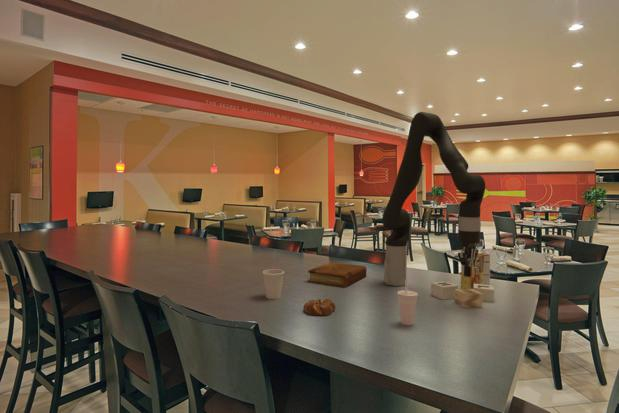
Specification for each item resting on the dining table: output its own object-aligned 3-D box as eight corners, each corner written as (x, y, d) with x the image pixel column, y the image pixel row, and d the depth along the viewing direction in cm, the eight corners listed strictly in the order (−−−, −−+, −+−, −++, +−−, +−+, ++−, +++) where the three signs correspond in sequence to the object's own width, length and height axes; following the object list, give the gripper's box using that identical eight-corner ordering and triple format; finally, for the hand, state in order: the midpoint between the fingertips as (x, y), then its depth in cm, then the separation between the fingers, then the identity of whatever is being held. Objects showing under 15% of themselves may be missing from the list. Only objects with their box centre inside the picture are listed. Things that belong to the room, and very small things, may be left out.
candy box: (474, 287, 164) (476, 252, 164) (483, 289, 161) (484, 253, 160) (459, 289, 161) (461, 253, 160) (468, 292, 157) (469, 255, 156)
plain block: (463, 308, 137) (464, 294, 137) (454, 302, 144) (454, 289, 143) (482, 307, 137) (482, 294, 137) (472, 301, 144) (472, 288, 144)
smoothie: (394, 319, 124) (394, 277, 123) (413, 319, 124) (414, 276, 124) (400, 327, 117) (401, 282, 117) (420, 326, 118) (421, 281, 117)
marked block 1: (442, 300, 146) (443, 286, 146) (430, 295, 153) (431, 282, 153) (457, 298, 149) (457, 285, 148) (445, 293, 155) (445, 280, 155)
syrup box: (490, 286, 166) (491, 253, 165) (475, 285, 167) (476, 252, 167) (486, 283, 172) (487, 251, 171) (472, 282, 173) (473, 250, 172)
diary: (345, 289, 162) (346, 275, 162) (308, 283, 172) (308, 270, 172) (366, 277, 182) (366, 265, 182) (331, 272, 192) (331, 261, 191)
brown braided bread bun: (317, 304, 141) (318, 294, 140) (342, 310, 134) (342, 300, 134) (296, 312, 131) (296, 301, 131) (321, 319, 124) (321, 308, 124)
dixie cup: (267, 301, 143) (267, 274, 142) (259, 295, 150) (259, 270, 149) (287, 298, 146) (287, 272, 146) (279, 292, 154) (279, 268, 153)
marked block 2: (473, 300, 146) (473, 287, 146) (473, 295, 152) (473, 283, 152) (493, 303, 143) (494, 289, 143) (492, 298, 150) (493, 284, 149)
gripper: (472, 231, 132) (470, 281, 133) (486, 228, 141) (485, 275, 142) (451, 229, 137) (449, 277, 138) (466, 227, 147) (465, 271, 147)
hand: (467, 276), depth 140 cm, fingers closed
